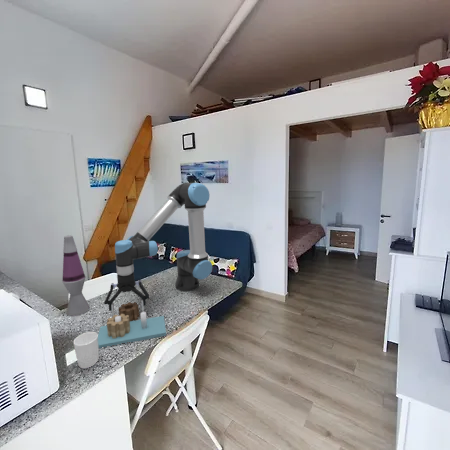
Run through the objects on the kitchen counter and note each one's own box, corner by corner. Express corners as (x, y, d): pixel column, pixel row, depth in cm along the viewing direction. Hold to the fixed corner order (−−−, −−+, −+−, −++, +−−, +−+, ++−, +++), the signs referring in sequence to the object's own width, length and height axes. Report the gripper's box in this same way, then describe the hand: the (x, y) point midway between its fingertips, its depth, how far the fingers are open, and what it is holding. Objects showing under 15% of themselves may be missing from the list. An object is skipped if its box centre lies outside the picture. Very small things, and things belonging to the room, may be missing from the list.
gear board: (163, 318, 122) (162, 302, 120) (166, 335, 109) (165, 317, 107) (100, 329, 114) (98, 312, 112) (95, 349, 100) (93, 330, 99)
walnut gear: (139, 311, 128) (138, 300, 127) (139, 321, 120) (138, 309, 119) (120, 314, 126) (119, 303, 124) (118, 324, 117) (117, 312, 116)
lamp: (61, 313, 127) (49, 237, 119) (79, 303, 137) (70, 232, 129) (76, 317, 123) (66, 239, 115) (94, 307, 133) (85, 234, 125)
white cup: (83, 355, 97) (79, 332, 95) (103, 354, 98) (101, 331, 96) (72, 370, 89) (69, 346, 87) (95, 369, 90) (92, 344, 88)
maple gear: (126, 323, 115) (125, 311, 114) (133, 332, 109) (132, 319, 108) (105, 331, 110) (104, 318, 109) (111, 341, 103) (110, 328, 102)
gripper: (152, 267, 125) (154, 306, 129) (97, 272, 118) (101, 314, 122) (153, 272, 118) (155, 313, 122) (94, 278, 111) (99, 322, 115)
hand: (128, 314), depth 122 cm, fingers open, 13 cm apart
